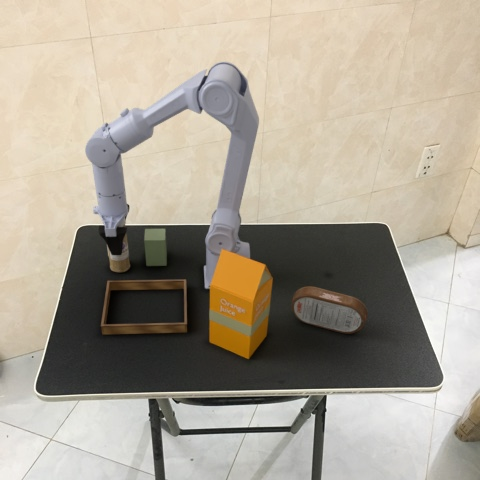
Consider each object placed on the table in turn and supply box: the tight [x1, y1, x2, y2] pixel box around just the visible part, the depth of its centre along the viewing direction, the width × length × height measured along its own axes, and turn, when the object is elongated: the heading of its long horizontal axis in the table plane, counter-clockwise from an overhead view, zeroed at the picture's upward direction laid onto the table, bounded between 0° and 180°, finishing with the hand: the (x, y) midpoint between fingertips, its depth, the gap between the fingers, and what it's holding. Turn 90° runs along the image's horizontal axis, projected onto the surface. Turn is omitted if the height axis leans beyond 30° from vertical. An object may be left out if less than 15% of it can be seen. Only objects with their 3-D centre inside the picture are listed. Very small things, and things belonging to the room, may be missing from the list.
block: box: [143, 228, 168, 267], centre depth 123 cm, size 4×4×7 cm
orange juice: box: [208, 249, 274, 360], centre depth 101 cm, size 8×9×20 cm
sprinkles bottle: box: [106, 218, 131, 274], centre depth 118 cm, size 5×5×14 cm
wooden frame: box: [100, 278, 188, 336], centre depth 112 cm, size 16×14×2 cm
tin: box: [290, 286, 369, 335], centre depth 109 cm, size 15×3×8 cm, turn 71°
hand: (117, 245), depth 119 cm, fingers open, 6 cm apart
